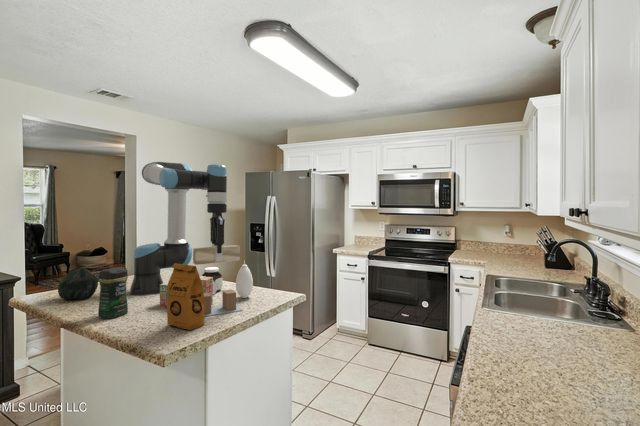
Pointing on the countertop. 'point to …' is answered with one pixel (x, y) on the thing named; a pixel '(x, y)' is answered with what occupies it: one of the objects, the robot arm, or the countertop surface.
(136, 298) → the countertop surface
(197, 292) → the coffee package
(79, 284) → the squash
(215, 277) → the spread jar
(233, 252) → the bar
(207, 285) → the stack of blocks
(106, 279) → the coffee jar
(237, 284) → the sauce bottle
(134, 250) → the robot arm
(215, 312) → the build board
